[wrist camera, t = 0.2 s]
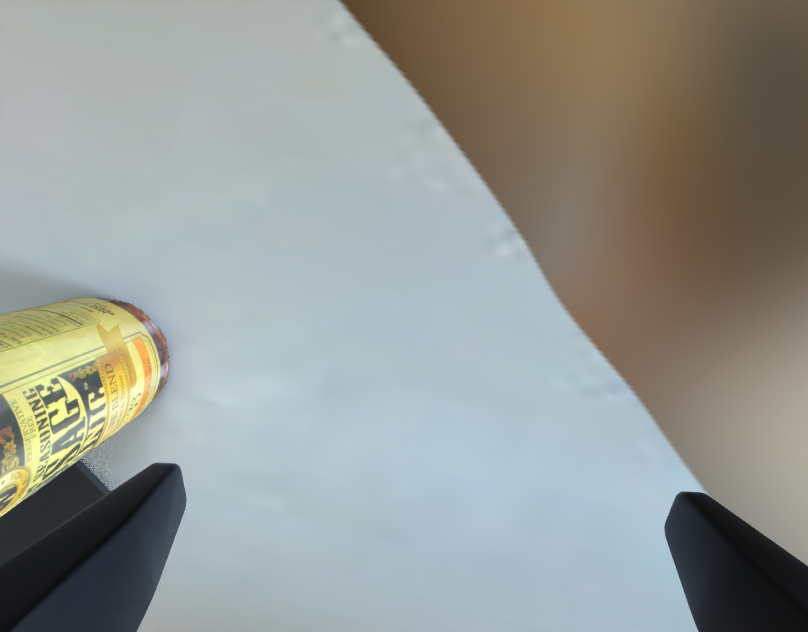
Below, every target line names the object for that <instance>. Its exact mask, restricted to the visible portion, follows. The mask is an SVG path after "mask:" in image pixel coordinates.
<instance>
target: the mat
mask: <svg viewBox="0 0 808 632" xmlns="http://www.w3.org/2000/svg"><path fill="white" fill-rule="evenodd" d="M108 493H110V491H109V490H108V489H107V488H106V487H105V486H104V485H103V484H102V483H101V482H100V481H99V480H98V479H97V478H96V476H95V475H94V474H93V473H92V472H91V471H90V470H89V469H88V468H87V467H86V466H85V465H84V464H83V463H82V462H81V461H80V460H78V461H77V462H76V463H74V464H73V465H72V466H70V467H68V468H67V469H66V470H64V471H63V472H61V473H60V474H59V475H58V476H56V477H55V478H54V479H52V480H51V481H50V482H49V483H47V484H46V485H44V486H43V487H42V488H40V489H39V490H38V491H37V492H36V493H34V494H32V495H31V496H29V497H28V498H26V499H25V500H23V501H22V502H20V503H19V504H18V505H16V506H15V507H13V508H12V509H11V510H9V511H8V512H7V513H6V514H4V515H3V516H1V517H0V565H1V564H3V563H4V562H6V561H7V560H9V559H10V558H12V557H13V556H15V555H16V554H18V553H19V552H21V551H22V550H24V549H25V548H27V547H28V546H30V545H31V544H33V543H34V542H36V541H37V540H39V539H40V538H42V537H43V536H45V535H46V534H48V533H49V532H51V531H52V530H54V529H55V528H57V527H58V526H60V525H61V524H63V523H64V522H66V521H67V520H69V519H70V518H72V517H73V516H75V515H76V514H78V513H79V512H81V511H82V510H84V509H85V508H87V507H88V506H90V505H91V504H93V503H94V502H96V501H97V500H99V499H101V498H102V497H104V496H105V495H107V494H108Z"/></svg>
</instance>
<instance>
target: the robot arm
mask: <svg viewBox="0 0 808 632" xmlns="http://www.w3.org/2000/svg"><path fill="white" fill-rule="evenodd" d="M185 507H186V493H185V488H184V483H183V477H182V472H181V469H180V467H179V465H177V464H174V463H154V464H152V465H150V466H149V467H147V468H146V469H144V470H143V471H141V472H140V473H138V474H137V475H135V476H134V477H132V478H131V479H129V480H128V481H126V482H125V483H123V484H122V485H120V486H119V487H117V488H116V489H114V490H113V491H111V492H110V493H108V494H107V495H105V496H104V497H102V498H101V499H99V500H97V501H96V502H94V503H93V504H91V505H90V506H88V507H87V508H85V509H84V510H82V511H81V512H79V513H78V514H76V515H75V516H73V517H72V518H70V519H69V520H67V521H66V522H64V523H63V524H61V525H60V526H58V527H57V528H55V529H54V530H52V531H51V532H49V533H48V534H46V535H45V536H43V537H42V538H40V539H39V540H37V541H36V542H34V543H33V544H31V545H30V546H28V547H27V548H25V549H24V550H22V551H21V552H19V553H18V554H16V555H15V556H13V557H12V558H10V559H9V560H7V561H6V562H4V563H3V564H1V565H0V632H137V630H138V628H139V625H140V623H141V621H142V619H143V617H144V615H145V613H146V611H147V609H148V606H149V604H150V602H151V600H152V598H153V595H154V593H155V590H156V588H157V585H158V582H159V580H160V577H161V574H162V571H163V569H164V566H165V563H166V560H167V558H168V555H169V552H170V549H171V547H172V544H173V541H174V538H175V536H176V533H177V530H178V527H179V525H180V522H181V519H182V516H183V514H184V511H185ZM665 536H666V540H667V543H668V545H669V548H670V551H671V554H672V557H673V560H674V563H675V566H676V569H677V572H678V575H679V578H680V581H681V584H682V587H683V590H684V593H685V596H686V599H687V602H688V605H689V607H690V610H691V613H692V616H693V619H694V621H695V624H696V626H697V629H698V631H699V632H808V566H807V565H805V564H804V563H802V562H801V561H800V560H798V559H797V558H795V557H794V556H793V555H791V554H790V553H788V552H787V551H786V550H784V549H783V548H781V547H780V546H779V545H777V544H776V543H774V542H773V541H771V540H770V539H769V538H767V537H766V536H764V535H763V534H761V533H760V532H759V531H757V530H756V529H755V528H753V527H752V526H750V525H749V524H747V523H746V522H745V521H743V520H742V519H740V518H739V517H738V516H736V515H735V514H733V513H732V512H730V511H729V510H728V509H726V508H725V507H724V506H722V505H721V504H719V503H718V502H716V501H715V500H714V499H712V498H711V497H709V496H708V495H706V494H704V493H700V492H680V493H679V494H677V496H676V497H675V500H674V502H673V505H672V507H671V510H670V512H669V515H668V517H667V520H666V522H665Z"/></svg>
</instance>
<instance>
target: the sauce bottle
mask: <svg viewBox="0 0 808 632" xmlns="http://www.w3.org/2000/svg"><path fill="white" fill-rule="evenodd" d="M168 358H169V356H168V353H167V345H166V339H165V338H164V336H163V334H162V333H161V330H160V329H159V328H158V327H157V326H156V325H154V324H153V322H152V321H151V320H150V319H149V318H148V317H147V316H146V315H145V314H144V313H143V312H142V311H141V310H140V309H138V308H136V307H135V306H134V305H132V304H129V303H125V302H122V301H118V300H115V299H106V298H77V299H70V300H66V301H61V302H56V303H52V304H48V305H43V306H39V307H34V308H29V309H25V310H20V311H16V312H12V313H8V314H4V315H0V517H1V516H3V515H4V514H6V513H7V512H8V511H9V510H11V509H12V508H13V507H15V506H16V505H18V504H19V503H20V502H22V501H23V500H25V499H26V498H28V497H29V496H31V495H32V494H34V493H36V492H37V491H38V490H39V489H40V488H42V487H43V486H44V485H46V484H47V483H49V482H50V481H51V480H52V479H54V478H55V477H56V476H58V475H59V474H60V473H61V472H63V471H64V470H66V469H67V468H68V467H70V466H72V465H73V464H74V463H76V462H77V461H78V460H80V459H81V458H82V457H83V456H84V455H86V454H87V453H88V452H89V451H91V450H92V449H93V448H95V447H96V446H97V445H99V444H100V443H102V442H103V441H104V440H106V439H107V438H108V437H110V436H111V435H112V434H114V433H115V432H117V431H118V430H119V429H121V428H122V427H123V426H125V425H126V424H127V423H129V422H130V421H131V420H133V419H134V418H135V417H137V416H138V415H139V414H140V413H141V412H142V411H143V410H144V409H145V408H146V407H147V406H148V405H149V403H150V402H151V400H153V399H154V398H155V397H156V396H157V394H158V393H159V391H160V390H161V388H162V387H163V386H164V384H165V383H166V377H167V373H168Z"/></svg>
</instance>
